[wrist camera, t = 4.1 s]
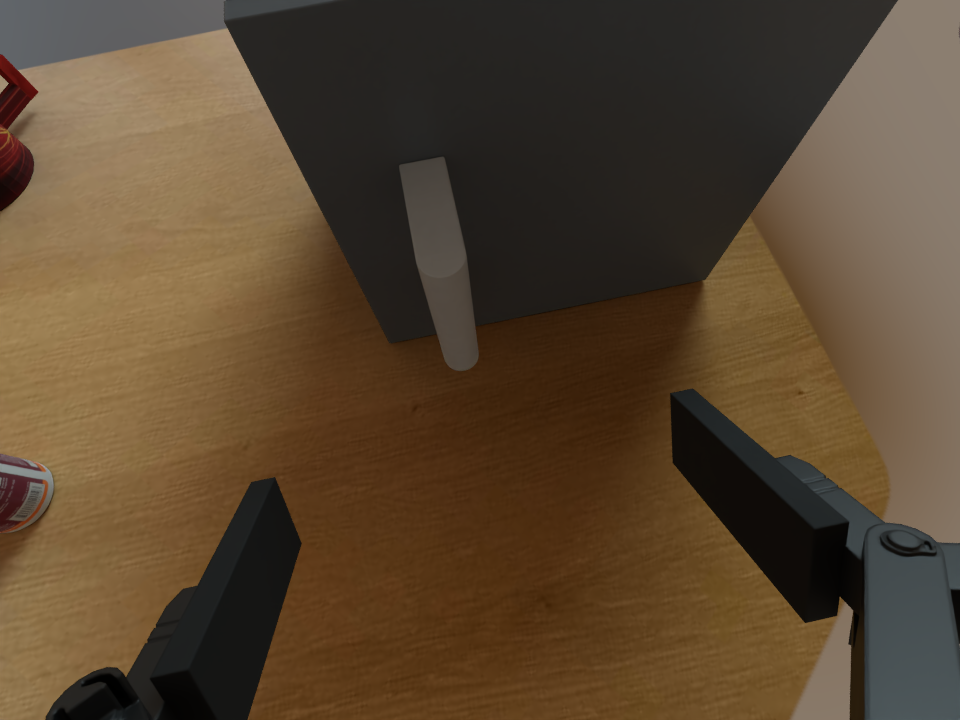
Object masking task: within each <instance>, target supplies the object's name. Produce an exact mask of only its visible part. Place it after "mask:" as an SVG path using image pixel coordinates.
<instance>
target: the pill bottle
mask: <svg viewBox="0 0 960 720" xmlns="http://www.w3.org/2000/svg"><path fill="white" fill-rule="evenodd" d="M53 487H54V483H53V477H52V474H51V472H50V471H49V470H48V469H47V468H46V467H45V466H44V465H42V464H40V463H38V462H34V461H30V460H26V459H21V458H17V457H12V456H8V455H3V454H0V533H10V532H15V531H18V530H21V529H23V528H25V527H27V526H29V525H30V524H32V523H33V522H35V521H36V520H37V519H38V518H39V517H40V516H41V515H42V514H43V513H44V511H45V510H46V508H47V507H48V505H49V503H50V501H51V498H52V495H53V490H54V488H53Z"/></svg>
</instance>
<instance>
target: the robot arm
mask: <svg viewBox="0 0 960 720" xmlns="http://www.w3.org/2000/svg"><path fill="white" fill-rule="evenodd" d="M670 400H671V428H672V457H673V464H674V465H675V466H676V467H677V469H678V470H679V471H680V472H681V473H682V475H683V476H684V477H685V478H686V479H687V481H688V482H689V483H690V484H691V485H692V487H693V488H694V489H695V490H696V491H697V493H698V494H699V495H700V496H701V498H702V499H703V500H704V501H705V502H706V504H707V505H708V506H709V507H710V508H711V510H712V511H713V512H714V513H715V514H716V516H717V517H718V518H719V519H720V521H721V522H722V523H723V524H724V525H725V527H726V528H727V529H728V530H729V531H730V533H731V534H732V535H733V536H734V537H735V539H736V540H737V541H738V542H739V543H740V545H741V546H742V547H743V548H744V550H745V551H746V552H747V553H748V554H749V556H750V557H751V558H752V559H753V560H754V562H755V563H756V564H757V565H758V566H759V568H760V569H761V570H762V571H763V573H764V574H765V575H766V576H767V577H768V579H769V580H770V581H771V582H772V583H773V585H774V586H775V587H776V588H777V589H778V591H779V592H780V593H781V594H782V596H783V597H784V598H785V599H786V600H787V602H788V603H789V604H790V605H791V606H792V608H793V609H794V610H795V611H796V612H797V614H798V615H799V616H800V617H801V618H802V620H803V621H804V622H805V623H807V622H812V621H816V620H820V619H825V618H829V617H833V616H837V612H838V605H839V597H841V598H842V599H843V600H844V601H845V602H846V603H847V604H848V605H849V606H850V607H851V608H852V609H853V617H852V624H851V630H850V637H849V645H851V684H850V720H960V645H959V644H960V543H939V542H936V541H935V540H934V539H933V538H932V537H930V536H929V535H927V534H925V533H923V532H921V531H919V530H918V529H915V528H912V527H908V526H905V525H902V524H893V523H885V522H884V521H882V520H881V519H880V518H879V517H877V516H876V515H875V514H873V513H872V512H871V511H870V510H868V509H867V508H866V507H865V506H863V505H862V504H861V503H859V502H858V501H857V500H856V499H854V498H853V497H852V496H851V495H849V494H848V493H847V492H845V491H844V490H843V489H842V488H838V485H837V484H835V483H834V482H833V481H831V480H830V479H829V478H826V476H825V475H824V474H823V473H821V472H820V471H819V470H817V469H816V468H815V467H814V466H812V465H811V464H809V463H807V462H805V461H802V460H800V459H798V458H796V457H793V456H791V455H788V456H784V457H779V458H774V457H773V456H772V455H770V454H769V453H768V452H767V451H766V450H764V449H763V448H762V447H761V446H760V445H759V444H757V443H756V442H755V441H754V440H753V439H752V438H750V437H749V436H748V435H747V434H746V433H744V432H743V431H742V430H741V429H740V428H739V427H737V426H736V425H735V424H734V423H733V422H731V421H730V420H729V419H728V418H727V417H726V416H724V415H723V414H722V413H721V412H720V411H719V410H717V409H716V408H715V407H714V406H713V405H711V404H710V403H709V402H708V401H707V400H706V399H704V398H703V397H702V396H701V395H700V394H699V393H697V392H696V391H695V390H694V389H688V390H683V391H679V392H674V393H670ZM300 547H301V541H300V538H299V536H298V533H297V531H296V528H295V526H294V523H293V521H292V518H291V516H290V513H289V511H288V508H287V506H286V503H285V501H284V498H283V496H282V493H281V491H280V488H279V486H278V483H277V481H276V478H275V477H273V478H269V479H264V480H259V481H254V482H251V484H250V486H249V488H248V489H247V491H246V493H245V495H244V497H243V499H242V501H241V503H240V505H239V507H238V509H237V511H236V513H235V514H234V516H233V518H232V520H231V522H230V524H229V526H228V528H227V530H226V532H225V534H224V536H223V538H222V539H221V541H220V543H219V545H218V547H217V549H216V551H215V553H214V555H213V557H212V559H211V561H210V563H209V564H208V566H207V568H206V570H205V572H204V574H203V576H202V578H201V580H200V582H199V584H198V586H194V587H189V588H185V589H182V590H181V591H180V592H179V594H178V595H177V596H176V597H175V598H174V599H173V600H172V601H171V602H170V603H169V604H168V605H167V606H166V608H165V609H164V611H163V613H162V615H161V616H160V618H159V620H158V622H157V624H156V628H154V629H153V631H152V632H151V634H150V636H149V638H148V639H147V640H148V642H147V643H145V645H144V647H143V648H142V650H141V652H140V654H139V655H138V657H137V659H136V661H135V662H134V664H133V666H132V668H131V670H130V671H129V673H128V675H127V677H125V675H124V674H123V672H121V671H120V670H119V669H118V668H113V667H106V668H103V669H100V670H96V671H94V672H92V673H90V674H88V675H86V676H85V677H83V678H81V679H79V680H78V681H77V682H75V683H74V684H73V685H72V686H70V687H69V688H68V689H67V690H65V691H64V692H63V694H62V695H61V696H60V697H59V698H58V699H57V700H56V701H55V702H54V704H53V705H52V707H51V709H50V711H49V712H48V714H47V716H46V720H247V719H248V716H249V713H250V709H251V706H252V703H253V700H254V696H255V693H256V690H257V687H258V683H259V680H260V677H261V674H262V670H263V667H264V664H265V661H266V657H267V654H268V651H269V648H270V644H271V641H272V638H273V635H274V631H275V628H276V625H277V622H278V618H279V615H280V612H281V609H282V605H283V602H284V599H285V596H286V592H287V589H288V586H289V582H290V579H291V576H292V573H293V569H294V566H295V563H296V560H297V556H298V553H299V550H300Z"/></svg>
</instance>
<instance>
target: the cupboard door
mask: <svg viewBox="0 0 960 720" xmlns="http://www.w3.org/2000/svg"><path fill="white" fill-rule="evenodd" d="M897 1H898V0H227V1H224V22H225V24H226V26H227V28H228V30H229V32H230V34H231V36H232V38H233V40H234V42H235V44H236V46H237V48H238V50H239V51H240V53H241V55H242V57H243V59H244V61H245V63H246V65H247V67H248V69H249V71H250V73H251V75H252V77H253V79H254V81H255V83H256V85H257V86H258V88H259V90H260V92H261V94H262V96H263V98H264V100H265V102H266V104H267V106H268V108H269V110H270V112H271V114H272V116H273V118H274V120H275V122H276V123H277V125H278V127H279V129H280V131H281V133H282V135H283V137H284V139H285V141H286V143H287V145H288V147H289V149H290V151H291V153H292V155H293V157H294V159H295V160H296V162H297V164H298V166H299V168H300V170H301V172H302V174H303V176H304V178H305V180H306V182H307V184H308V186H309V188H310V190H311V192H312V194H313V195H314V197H315V199H316V201H317V203H318V205H319V207H320V209H321V211H322V213H323V215H324V217H325V219H326V221H327V223H328V225H329V227H330V229H331V231H332V232H333V234H334V236H335V238H336V240H337V242H338V244H339V246H340V248H341V250H342V252H343V254H344V256H345V258H346V260H347V262H348V264H349V266H350V268H351V269H352V271H353V273H354V275H355V277H356V279H357V281H358V283H359V285H360V287H361V289H362V291H363V293H364V295H365V297H366V299H367V301H368V303H369V304H370V306H371V308H372V310H373V312H374V314H375V316H376V318H377V320H378V322H379V324H380V326H381V328H382V330H383V332H384V334H385V336H386V338H387V340H388V341H389V343H394V342H399V341H404V340H409V339H414V338H419V337H424V336H429V335H434V334H437V336H438V339H439V342H440V346H441V349H442V353H443V356H444V360H445V362H446V364H447V365H448V366H449V367H450V368H451V369H453V370H457V371H465V370H468V369H470V368H472V367H473V366H474V365H475V364H476V362H477V360H478V357H479V352H478V344H477V336H476V328H475V326H478V325H483V324H488V323H493V322H498V321H503V320H508V319H513V318H518V317H523V316H528V315H533V314H538V313H543V312H548V311H553V310H558V309H563V308H567V307H572V306H577V305H582V304H587V303H592V302H597V301H602V300H607V299H612V298H617V297H622V296H627V295H632V294H637V293H642V292H647V291H652V290H657V289H662V288H666V287H671V286H676V285H681V284H686V283H691V282H696V281H701V280H705V279H706V278H707V277H708V275H709V274H710V272H711V271H712V269H713V268H714V267H715V265H716V264H717V262H718V261H719V259H720V258H721V256H722V255H723V253H724V252H725V251H726V249H727V248H728V246H729V245H730V243H731V242H732V240H733V239H734V237H735V236H736V235H737V233H738V232H739V230H740V229H741V227H742V226H743V224H744V223H745V222H746V220H747V219H748V217H749V216H750V214H751V213H752V211H753V210H754V208H755V207H756V206H757V204H758V203H759V201H760V199H761V198H762V197H763V195H764V194H765V192H766V191H767V190H768V188H769V187H770V185H771V183H772V182H773V181H774V179H775V178H776V176H777V175H778V174H779V172H780V171H781V169H782V168H783V166H784V165H785V163H786V162H787V161H788V159H789V158H790V156H791V155H792V153H793V152H794V150H795V149H796V147H797V146H798V145H799V143H800V142H801V140H802V139H803V137H804V136H805V134H806V133H807V131H808V130H809V129H810V127H811V126H812V124H813V123H814V121H815V120H816V118H817V117H818V115H819V114H820V113H821V111H822V110H823V108H824V107H825V105H826V104H827V102H828V101H829V99H830V98H831V97H832V95H833V94H834V92H835V91H836V89H837V88H838V86H839V85H840V83H841V82H842V81H843V79H844V78H845V76H846V75H847V73H848V72H849V70H850V69H851V68H852V66H853V65H854V63H855V62H856V60H857V59H858V57H859V56H860V55H861V53H862V52H863V50H864V49H865V47H866V46H867V44H868V43H869V41H870V40H871V38H872V37H873V36H874V34H875V33H876V31H877V30H878V28H879V27H880V25H881V24H882V22H883V21H884V20H885V18H886V17H887V15H888V14H889V12H890V11H891V9H892V8H893V6H894V5H895V4H896V2H897Z"/></svg>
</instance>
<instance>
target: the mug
mask: <svg viewBox="0 0 960 720" xmlns="http://www.w3.org/2000/svg"><path fill="white" fill-rule="evenodd" d="M0 75H1V76H2V77H3V78H4V79H5V80H6V81H7V82H8V83H9V84H8V85H7V86H6V88H5V89H4V90H3V91H2V92H1V94H0V210H2V209H3V208H5V207H6V206H8V205H9V204H10V203H11V202H13V201H14V200H15V199H16V198H17V197H18V196H19V195H20V194H21V192H22V191H23V190H24V189H25V188H26V186H27V184H28V182H29V181H30V179H31V176H32V173H33V167H34V161H33V156H32V154H31V152H30V150H29V149H28V148H27V147H26V146H25V145H23V144H22V143H21V142H20V141H19V140H18V139H17V138H15V137H14V136H13V135H12V134H11V133H10V132H9V131H7V129H8V128H9V126H10V125H11V124H12V123H13V121H14V120H15V119H16V118H17V117H18V115H19V114H20V113H21V112H22V110H23V109H24V108H25V107H26V105H27V104H28V103H29V102H30V100H32V99H33V98H34V96H35V95H36V94H37V93H38V91H37V90H36V89H35V88H34V87H33V86H32V85H31V84H30V83H29V82H28V81H27V80H26V79H25V77H24V76H23V75H22V74H21V73H20V72H19V71H18V70H17V69H15V67H14V66H13V65H12V64H11V63H10V62H9V61H8V60H7V59H6V58H5V57H4V56H3V55H1V54H0Z"/></svg>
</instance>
